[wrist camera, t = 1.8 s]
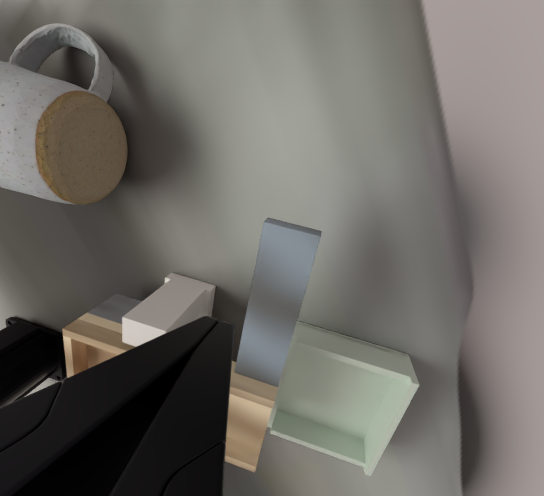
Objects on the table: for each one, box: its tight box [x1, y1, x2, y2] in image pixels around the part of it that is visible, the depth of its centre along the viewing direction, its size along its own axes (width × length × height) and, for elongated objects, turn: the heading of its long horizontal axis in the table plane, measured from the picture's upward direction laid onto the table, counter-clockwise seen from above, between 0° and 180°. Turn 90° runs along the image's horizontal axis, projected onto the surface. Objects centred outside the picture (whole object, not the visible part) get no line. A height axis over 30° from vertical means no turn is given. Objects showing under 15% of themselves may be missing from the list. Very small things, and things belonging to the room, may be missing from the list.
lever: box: [62, 218, 321, 472], centre depth 19 cm, size 18×15×5 cm
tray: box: [267, 321, 419, 476], centre depth 22 cm, size 10×9×3 cm
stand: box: [122, 273, 216, 347], centre depth 22 cm, size 12×4×6 cm, turn 168°
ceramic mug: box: [0, 23, 128, 204], centre depth 17 cm, size 11×8×8 cm
